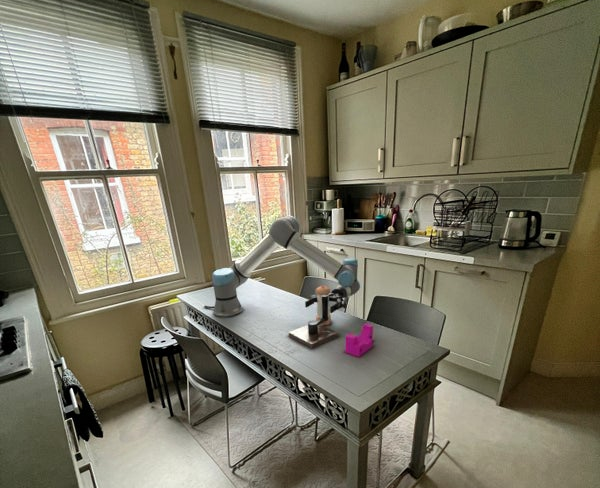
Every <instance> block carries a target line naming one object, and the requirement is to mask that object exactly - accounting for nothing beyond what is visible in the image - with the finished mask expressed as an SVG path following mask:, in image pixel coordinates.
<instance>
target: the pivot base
mask: <svg viewBox="0 0 600 488" xmlns="http://www.w3.org/2000/svg"><path fill="white" fill-rule="evenodd" d="M338 336H339V332H338V331H335V330H334V329H331V328H329V327H327V326H325V325H318V333H317V334H309V333H308V324H306V325H303V326H301V327H299V328H296V329H293V330H291V331H288V337H289V338H290V339H292V340H295V341H297V342H299V343H300V344H302V345H304V346H306V347H308V348H309V349H314V348H316V347H317V346H320V345H322V344H325V343H327V342H329V341H331V340H333V339H335V338H338Z"/></svg>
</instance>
